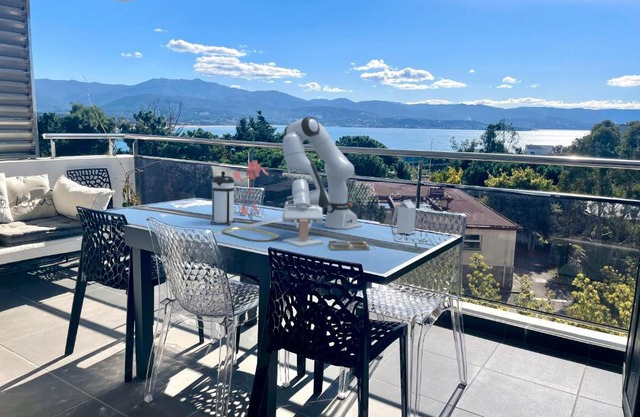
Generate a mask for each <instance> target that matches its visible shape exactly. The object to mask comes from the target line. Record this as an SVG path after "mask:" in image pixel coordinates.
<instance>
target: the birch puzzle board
mask: <svg viewBox="0 0 640 417" xmlns="http://www.w3.org/2000/svg"><path fill="white" fill-rule="evenodd" d="M327 243H328V244H327V246H328V247H329V249H330V251H370V245H369V244H368V243H367V242H366V241H347V240H328V242H327Z"/></svg>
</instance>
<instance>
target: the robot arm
mask: <svg viewBox="0 0 640 417" xmlns="http://www.w3.org/2000/svg"><path fill="white" fill-rule="evenodd" d="M307 139H308V140H309V143H310V144H311V145H312V147H313V149H314V150H315V152H316V153H317V155H318V157H319V158H320V159H321V160H322V161H323V162H324V166H323V167H324V168H323V169H324V173H325V174H326V179H327V180H326V181H327V186H328V187H327V189H328V190H326V188H325V186H324V183H323V180H322V178H321V176H320V174H319V172H318V169H317V167H316V165H315V162H314V161H313V160H311V159H309V158H308V156H307V155H306V150H305V147H304V141H306V140H307ZM282 150H283V155H284V159H285V160H284V161H285V162H286V164H285V165H286V166H287V167H288V168H289V169H290V170H291V171H295V172H300V173H306V174H309V175H310V177H311V178H312V180H313V183H314V186H315V189H316V190H314V191H310V188H309V183H308V181H307V180H306V178H305V179H304V178H298V179H295V180H293V182H292V185H291V187H292V188H291V193H292V194H291V196H292V199H290V200H287V201H285V203H284V206H283V211H282V218H281V219H282V222H283V223H293V224H294V226H295V228H296V230H299V229H300V225H299V219H302V220H308V221H309V223H308V230H311V229H312V225H313V223H322V222H323V220H324V212H323V211H324V210H325V209H326V211H327V212H326V218H325V223H324V224H323V226H324V227H326V228H329V229H339V230H340V229H341V230H350V229H355V228H359V227H362V224H361V223H359V222H358V216H357V214H355V213H354V212H353V211H352V210H351V209H350V207H351V208H352V207H353V203H351V202H349V203H348V192H349V190H348V187H347V185H346V184H347V183H346V180H349V179H350V178H351V177H353V176H354V174H355V166H354V165H353V163H352V162H350V160H349V159H348V158H347V156H345V155H344V154H343V152H342V151H341V150H340V149H339V148H338V146H337V145H336V144H335V142H334V141H333V139H332V137H331V136H330V134H329V133H328V131H327V130H326V129H325V127H324V126H323V125H322V124H321V123H320V122H319V121H318V120H317V119H316V118H314V117H313V116H306V117H304V118H299V119H297V120H296V121H294V122H291V123H289V124H288V125H286V126H285V127H284V129H283V139H282Z"/></svg>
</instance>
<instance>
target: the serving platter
mask: <svg viewBox="0 0 640 417" xmlns="http://www.w3.org/2000/svg"><path fill="white" fill-rule="evenodd" d="M233 229H237V230H243V229H244V230H246V231H252V232H256V233H260V234H264V235H268V236H273V237H275V238H268V239H266V238H265V239H256V238H249V237H248V238H247V237H245V236H241V235H237V234H234V233H230V232H228V231H227V230H229V231H234V230H233ZM225 231H226V232H225ZM222 232H223V233H224V234H225V235H227V234H228V236H231V235H232V237H235V236H236V237H235V238H238V237H239V239H242V238H243V240H246V239H247V240H246V241H250V240H252V242H272V240H273V241H276V240H277V239H279V238H280V235H279V233H275V232H271V231H267V230H262V229H258V228H255V227H250V226H249V227H248V226H231V227H226V228H223V229H222Z"/></svg>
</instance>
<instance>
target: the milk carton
mask: <svg viewBox="0 0 640 417" xmlns="http://www.w3.org/2000/svg"><path fill="white" fill-rule="evenodd" d="M416 211H417V207H416V205H415V204H414V203H413V202H412V199H410V198H409V199H404V200H403V201H402V202H401V204H400V205H398V206H397V219H396V232H397V233H396V234H399V233H405V234H408V233H411V232H413V231H414V232H415V226H416V214H417V212H416Z"/></svg>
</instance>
